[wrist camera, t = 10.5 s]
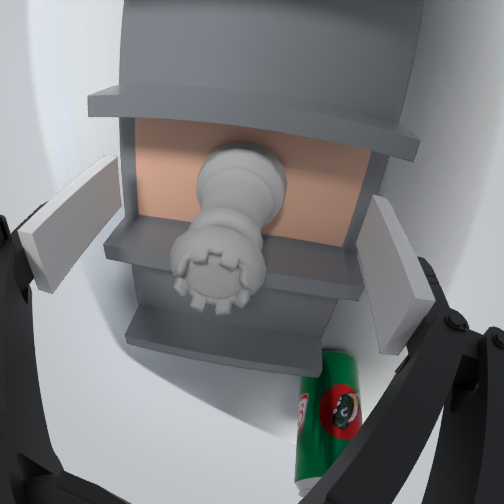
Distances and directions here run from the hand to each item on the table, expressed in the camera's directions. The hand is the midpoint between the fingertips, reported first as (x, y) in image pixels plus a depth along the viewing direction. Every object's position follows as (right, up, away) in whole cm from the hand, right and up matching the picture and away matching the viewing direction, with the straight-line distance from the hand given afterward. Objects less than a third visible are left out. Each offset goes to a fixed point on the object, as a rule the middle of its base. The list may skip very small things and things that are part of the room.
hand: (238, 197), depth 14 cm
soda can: (+7, -12, +12) cm, 19 cm away
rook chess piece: (0, +1, +2) cm, 2 cm away
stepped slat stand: (0, +2, +2) cm, 3 cm away
